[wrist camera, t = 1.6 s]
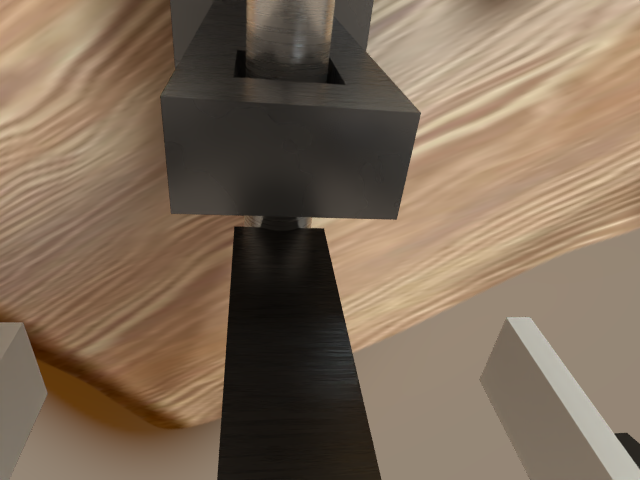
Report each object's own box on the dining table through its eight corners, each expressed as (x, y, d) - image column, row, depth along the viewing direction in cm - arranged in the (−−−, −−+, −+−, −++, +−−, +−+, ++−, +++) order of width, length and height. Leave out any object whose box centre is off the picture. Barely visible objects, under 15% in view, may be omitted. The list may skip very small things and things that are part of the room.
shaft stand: (157, -256, 18) (-118, -779, 5) (397, -214, 20) (703, -518, 6) (185, 158, 28) (120, 372, 15) (343, 165, 30) (418, 365, 16)
